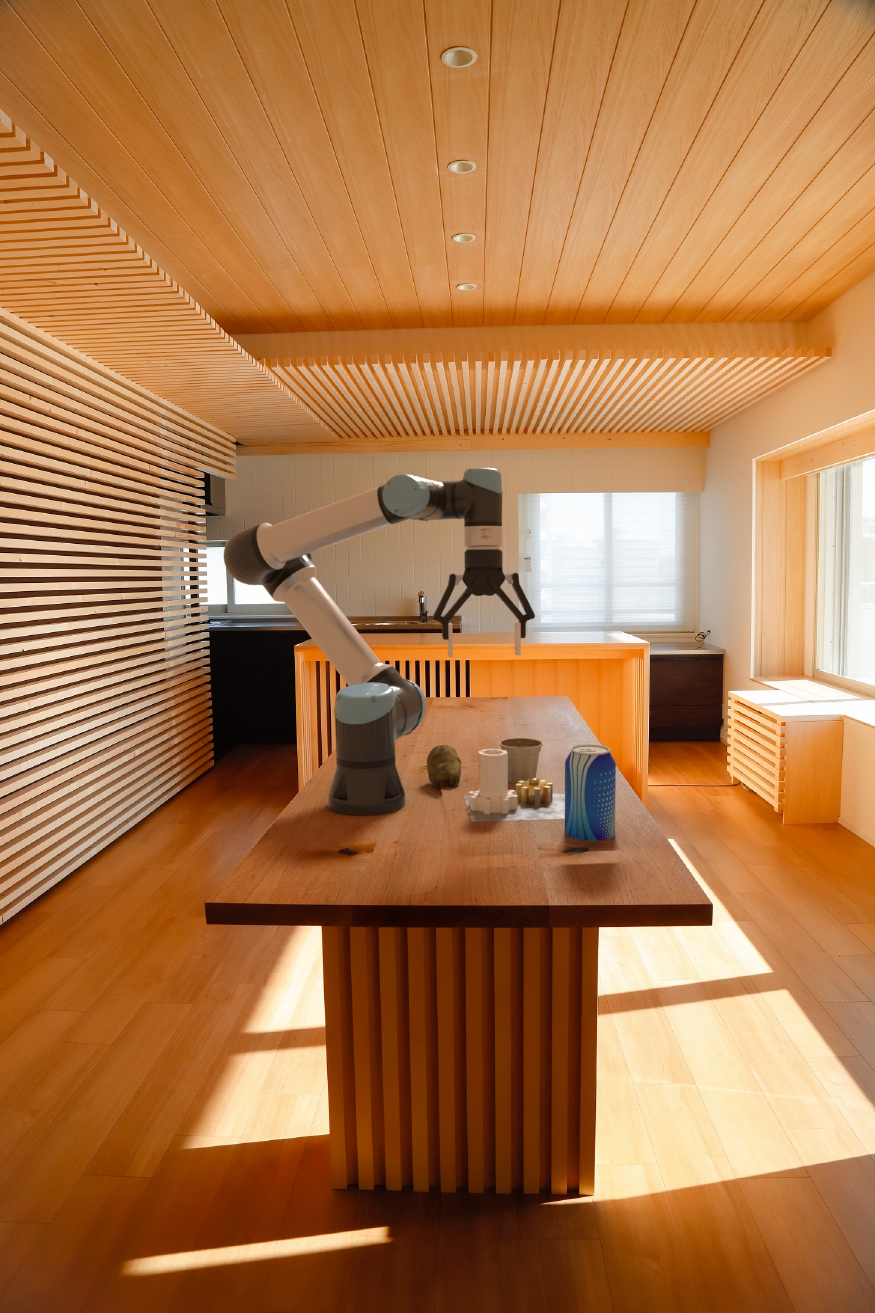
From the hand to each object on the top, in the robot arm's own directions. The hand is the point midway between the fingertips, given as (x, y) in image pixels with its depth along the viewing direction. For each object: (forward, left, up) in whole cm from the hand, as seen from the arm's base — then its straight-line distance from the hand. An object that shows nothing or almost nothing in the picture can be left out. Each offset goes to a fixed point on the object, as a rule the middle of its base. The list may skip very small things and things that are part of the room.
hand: (484, 655), depth 161 cm
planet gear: (0, -13, -27) cm, 30 cm away
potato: (-8, +8, -29) cm, 31 cm away
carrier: (+6, -14, -29) cm, 32 cm away
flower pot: (+9, +9, -29) cm, 32 cm away
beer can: (+14, -29, -29) cm, 43 cm away
